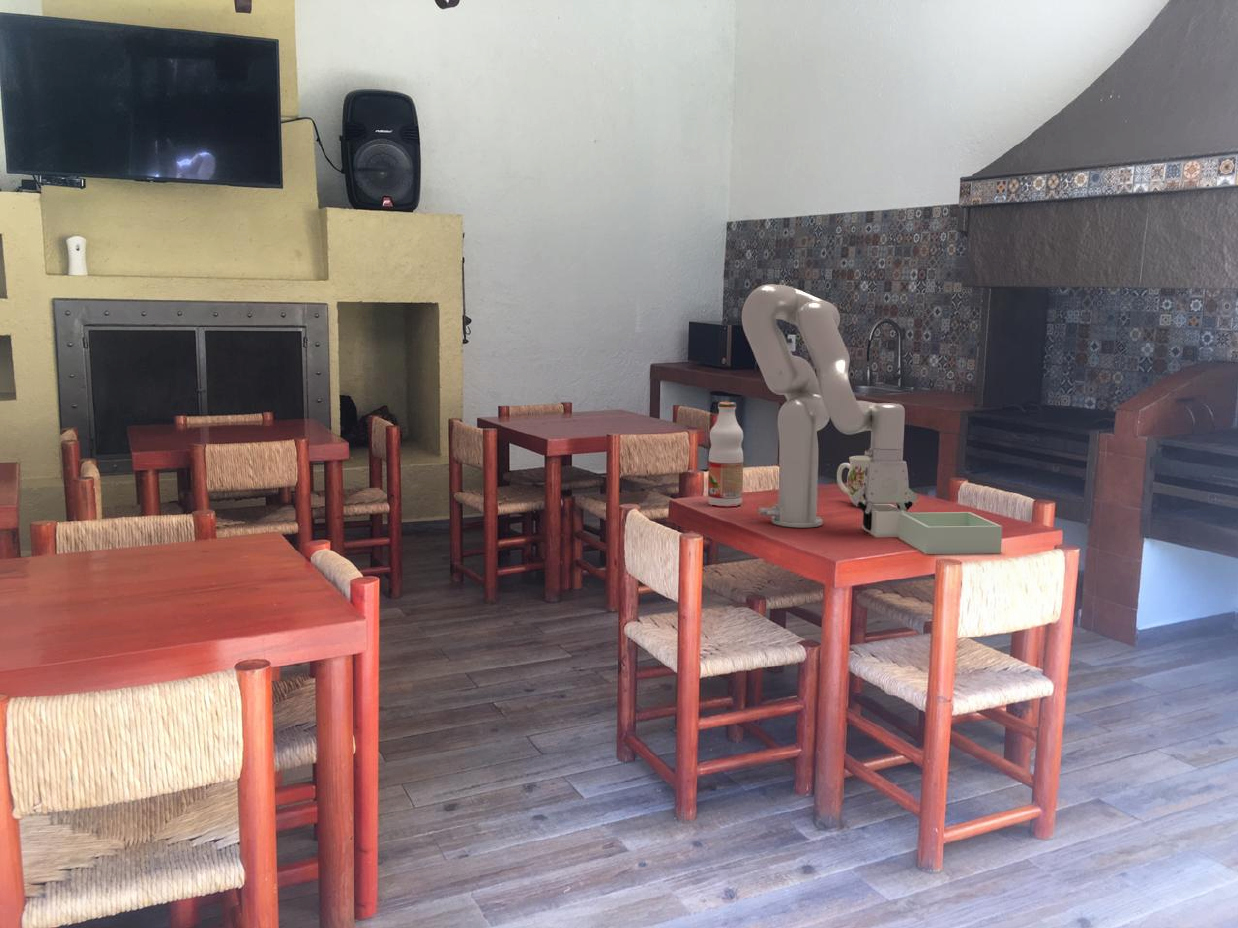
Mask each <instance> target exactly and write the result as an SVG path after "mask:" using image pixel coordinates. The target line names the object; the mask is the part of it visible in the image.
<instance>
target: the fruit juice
mask: <svg viewBox="0 0 1238 928" xmlns="http://www.w3.org/2000/svg"><path fill="white" fill-rule="evenodd" d="M717 409H718V415H717V419H716V422H715V424H713V426H712V427H711V429H710V430H709V439H710V440H709V441H710V448H709V451H708V468H707V469H708V474H707V475H708V477H707V478H708V479H707V480H708V481H707V502H710V503H713V504H718V505H731V504H739V503H742V504H743V490H744V488H743V487H744V486H743V485H744V483H743V482H744V450H743V448H742V443H743V440H744V431H743V429H742V427H741V426H740V425H739V423H738V421H737V416H736V410H737V403H736V402H735V401H734V402H733V401H721V402H718V403H717Z"/></svg>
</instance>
